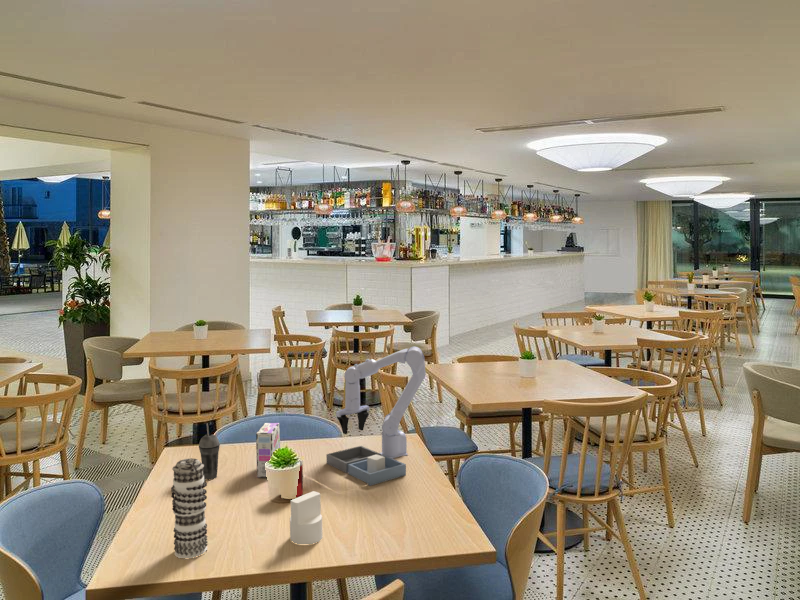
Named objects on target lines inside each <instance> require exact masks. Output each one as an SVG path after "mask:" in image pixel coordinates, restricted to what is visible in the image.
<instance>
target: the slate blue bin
mask: <svg viewBox="0 0 800 600" xmlns="http://www.w3.org/2000/svg"><path fill="white" fill-rule="evenodd" d="M382 456H383V457H385V469H384V470H380V471H377V472H373V473H369V472H367V460H363V461H360V462H356V463H352V464H348V473H347V475H349V476H352V477H353V478H355V479H358V480H360V481H362V482H363V483H366V485H368V486H370V487H371V486H375V485H377V484H381V483H385V482H388V481H391V480H394V479H397V478H401V477H404V476H406V475H407V464H406V463H404V462H402V461H399V460H397V459H395V458H393V459H392V458H390V457H387V456H385V455H382Z"/></svg>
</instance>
